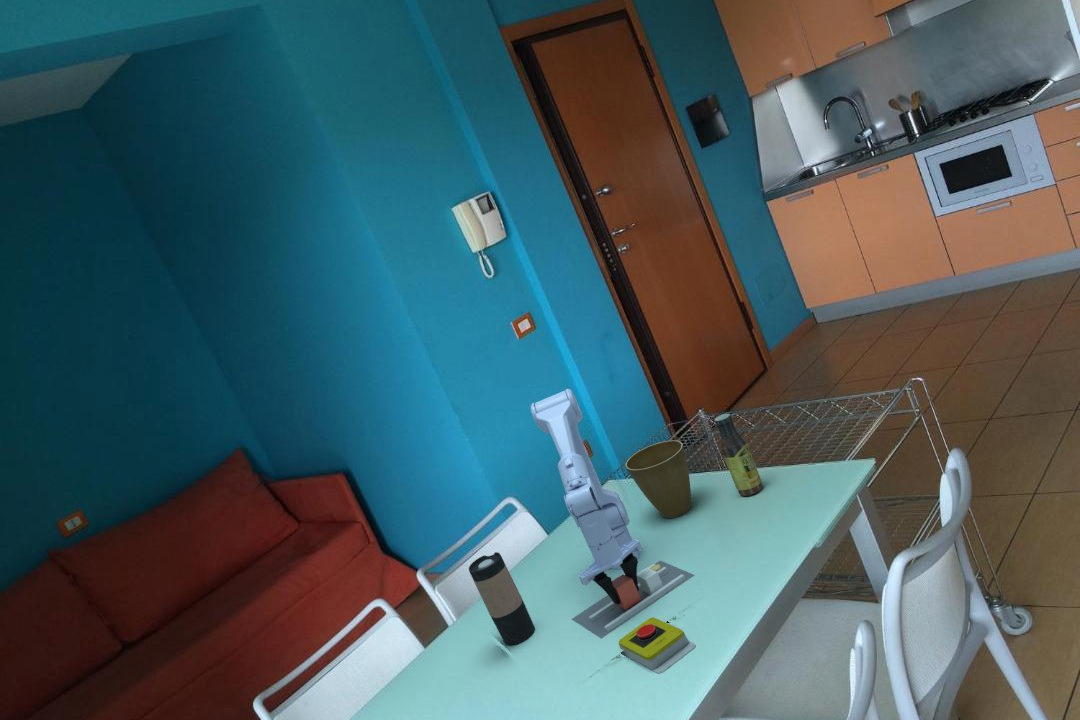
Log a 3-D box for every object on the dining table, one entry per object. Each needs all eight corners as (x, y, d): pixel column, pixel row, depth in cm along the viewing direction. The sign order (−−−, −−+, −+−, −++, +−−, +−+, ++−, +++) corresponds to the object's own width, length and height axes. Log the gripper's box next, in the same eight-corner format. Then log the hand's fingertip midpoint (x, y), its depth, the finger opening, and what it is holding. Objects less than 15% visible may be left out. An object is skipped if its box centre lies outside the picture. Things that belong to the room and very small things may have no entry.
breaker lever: (642, 591, 193) (635, 574, 192) (653, 583, 194) (646, 567, 193) (653, 596, 189) (645, 579, 188) (664, 588, 190) (657, 572, 189)
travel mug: (515, 656, 193) (476, 574, 189) (501, 646, 200) (462, 567, 196) (544, 635, 196) (506, 555, 192) (529, 626, 203) (492, 549, 199)
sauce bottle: (759, 495, 216) (728, 421, 212) (735, 499, 220) (705, 426, 216) (767, 482, 221) (737, 409, 218) (744, 485, 225) (714, 414, 221)
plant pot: (644, 532, 224) (618, 474, 221) (657, 503, 237) (633, 449, 235) (700, 518, 218) (675, 459, 215) (711, 490, 231) (687, 434, 228)
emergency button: (645, 608, 180) (690, 627, 167) (654, 627, 181) (699, 647, 168) (609, 635, 177) (651, 656, 163) (618, 654, 178) (660, 677, 164)
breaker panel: (574, 625, 195) (569, 615, 194) (662, 566, 203) (658, 556, 203) (604, 644, 182) (599, 634, 181) (697, 581, 190) (692, 570, 190)
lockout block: (616, 604, 190) (607, 584, 189) (632, 594, 192) (622, 574, 191) (625, 609, 187) (616, 588, 186) (641, 599, 188) (632, 578, 187)
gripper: (580, 562, 180) (606, 620, 183) (638, 525, 185) (663, 582, 188) (565, 554, 187) (591, 611, 189) (621, 518, 192) (646, 574, 194)
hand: (626, 596), depth 189 cm, fingers open, 4 cm apart
